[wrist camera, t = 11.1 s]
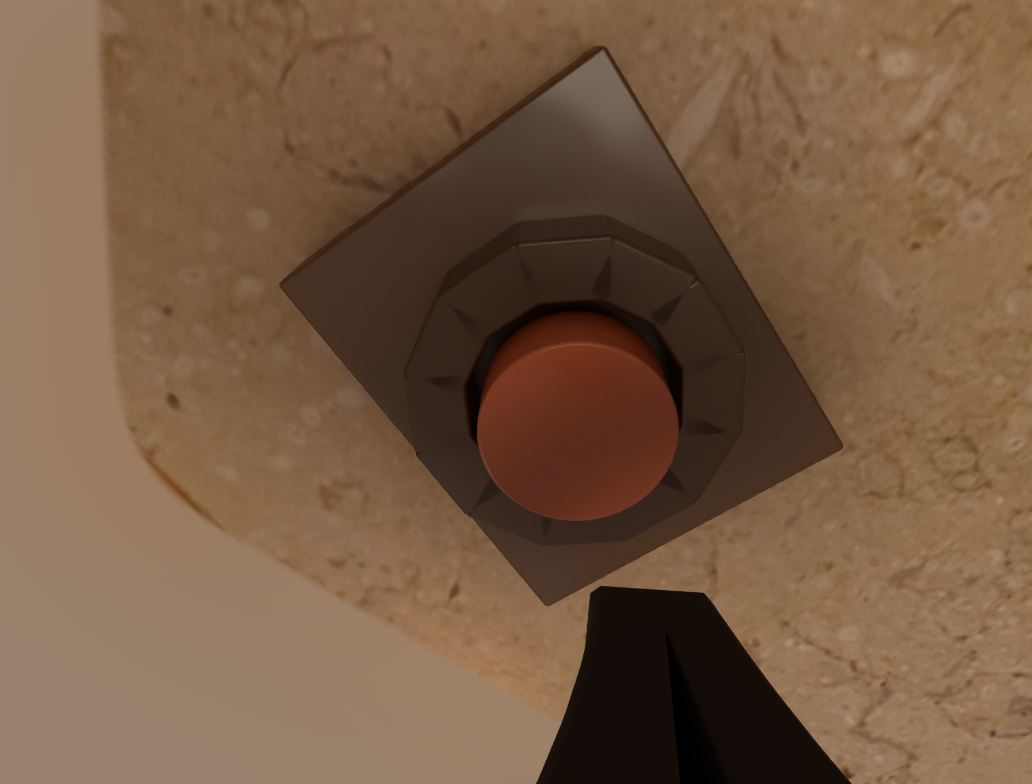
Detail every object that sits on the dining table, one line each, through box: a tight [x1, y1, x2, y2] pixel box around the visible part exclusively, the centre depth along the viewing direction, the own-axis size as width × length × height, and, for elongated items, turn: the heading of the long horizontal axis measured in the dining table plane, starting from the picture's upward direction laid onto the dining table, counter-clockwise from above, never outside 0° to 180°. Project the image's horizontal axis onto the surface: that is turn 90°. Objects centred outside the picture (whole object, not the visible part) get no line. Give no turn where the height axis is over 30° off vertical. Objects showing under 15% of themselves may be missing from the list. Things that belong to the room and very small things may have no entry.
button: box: [477, 311, 679, 521], centre depth 15 cm, size 4×4×2 cm
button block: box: [279, 46, 843, 606], centre depth 17 cm, size 10×8×4 cm
